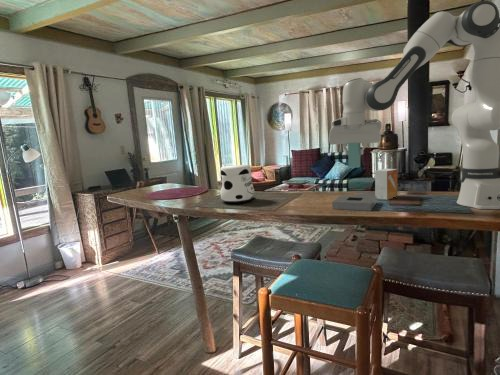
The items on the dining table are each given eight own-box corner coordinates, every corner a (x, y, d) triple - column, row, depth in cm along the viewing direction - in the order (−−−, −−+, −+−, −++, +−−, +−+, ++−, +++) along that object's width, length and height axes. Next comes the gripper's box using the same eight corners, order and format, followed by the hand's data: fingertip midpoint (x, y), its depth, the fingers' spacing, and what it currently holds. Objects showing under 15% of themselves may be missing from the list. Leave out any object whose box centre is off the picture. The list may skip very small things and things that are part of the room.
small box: (387, 200, 143) (387, 171, 141) (374, 198, 148) (374, 170, 146) (397, 197, 147) (397, 168, 145) (385, 195, 152) (385, 168, 150)
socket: (376, 202, 139) (376, 196, 138) (370, 210, 126) (370, 203, 126) (341, 201, 146) (341, 195, 146) (332, 209, 134) (332, 202, 133)
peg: (360, 166, 134) (360, 142, 133) (358, 167, 131) (358, 142, 129) (350, 166, 136) (350, 142, 134) (348, 167, 133) (348, 143, 131)
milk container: (260, 201, 160) (257, 165, 157) (227, 206, 153) (224, 169, 150) (247, 196, 175) (245, 163, 173) (217, 201, 169) (214, 167, 166)
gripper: (382, 118, 128) (382, 153, 130) (331, 122, 138) (332, 154, 140) (380, 118, 123) (380, 154, 125) (327, 122, 133) (328, 155, 135)
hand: (354, 154), depth 133 cm, fingers closed on peg, 4 cm apart
